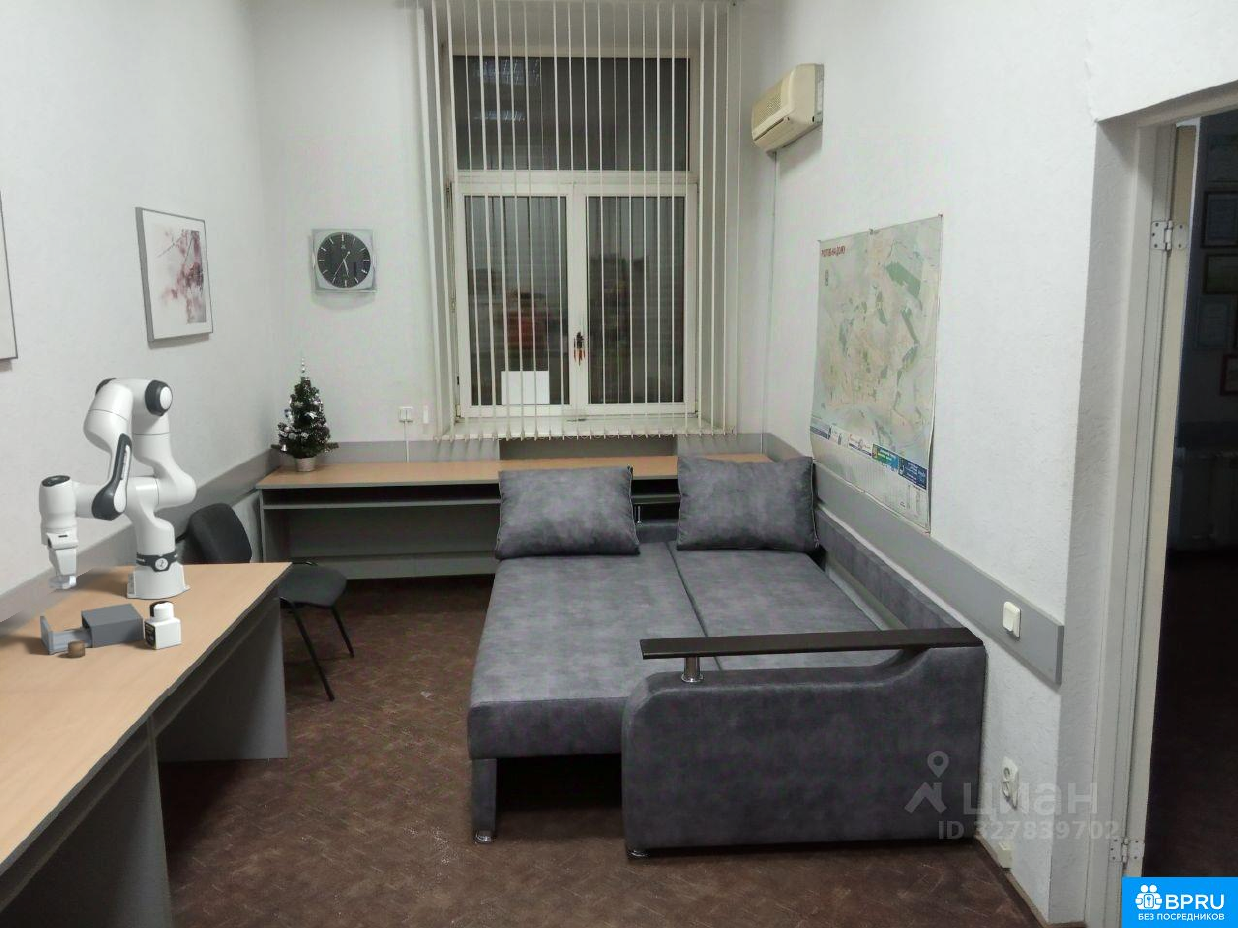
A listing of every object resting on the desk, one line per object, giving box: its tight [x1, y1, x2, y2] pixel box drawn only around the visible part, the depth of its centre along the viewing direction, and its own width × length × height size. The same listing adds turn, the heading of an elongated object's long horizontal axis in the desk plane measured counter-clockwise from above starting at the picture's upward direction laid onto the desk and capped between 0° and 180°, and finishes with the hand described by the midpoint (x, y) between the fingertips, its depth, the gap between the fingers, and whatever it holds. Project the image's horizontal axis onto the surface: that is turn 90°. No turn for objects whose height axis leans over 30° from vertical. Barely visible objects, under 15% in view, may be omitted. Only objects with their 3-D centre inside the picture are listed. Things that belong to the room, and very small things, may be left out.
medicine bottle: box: [143, 600, 182, 651], centre depth 277 cm, size 7×7×12 cm
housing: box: [80, 603, 145, 649], centre depth 283 cm, size 16×13×6 cm
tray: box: [39, 614, 92, 656], centre depth 277 cm, size 16×13×6 cm
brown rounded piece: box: [67, 641, 86, 659], centre depth 267 cm, size 4×4×4 cm
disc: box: [48, 575, 77, 590], centre depth 274 cm, size 6×6×2 cm
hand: (63, 584), depth 274 cm, fingers closed on disc, 6 cm apart
